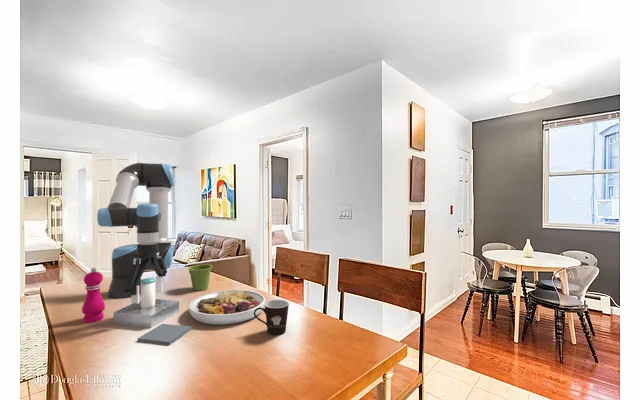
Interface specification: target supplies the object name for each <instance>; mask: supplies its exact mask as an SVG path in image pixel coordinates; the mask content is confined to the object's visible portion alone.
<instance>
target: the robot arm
mask: <svg viewBox="0 0 640 400" xmlns="http://www.w3.org/2000/svg"><path fill="white" fill-rule="evenodd" d="M173 174H174V173H173V168H172V166H171V164H169V163H168V164H167V163H166V164H165V163H148V162H147V163H144V162H143V163H142V162H138V163H137V162H135V163H132V164H130V165H127V166H125V167H124V168H122V169H121V170H120V171H119V172H118V174H117V175H116V178H115V183H116V184H115V187H114V190H113V192H112V194H111V198H110V200H109V202H108V205H107V207H102V208H99V209H98V210H97V215H96V216H97V217H96V219H97V220H96V221H97V224H98V226H100V227H101V228H102V227H103V228H104V227H109V228H114V227H115V228H116V227H117V228H118V227H136V242H137V243H134V244H127V245H121V246H118V247H115V248H114V249H113V250H112V254H111V281H110V284H109V288H108V289H107V297H108V298H112V299H120V298H121V299H123V298H131V299H130V300H131V304H133V303H136V304H138V303H139V301H140V295H141V280H142V276H143V274H144V272H145V271H154V273H155V274H156V275H157V276H155V293H158V294H163V293H164V277H166V276H167V273H168V269H170V268H171V267H172V264H173V263H172V262H173V256H174V250H175V247H174V246H175V245H173V244H172V241H170V239H168V236H169V234H168V232H169V231H168V229H169V227H168V226H169V221H168V219H169V218H168V217H169V213H168V212H169V210H168V209H169V193H170V192H171V191H172V187H175V180H174V175H173ZM137 187H145V190H146V191H147V192H148V194H149V195H148V196H149V198H148V201H149V203H139V204H137V206H136V207H130V205H131V204H132V203H131V202H132V200H133V197H134V192H135V189H136V188H137Z"/></svg>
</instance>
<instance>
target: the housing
mask: <svg viewBox="0 0 640 400" xmlns="http://www.w3.org/2000/svg"><path fill="white" fill-rule="evenodd" d="M179 312H180V301H179V300H172V299H171V300H170V299H160V298H159V299H157V298H155V307H153V308H151V309H141V299H139V303H138V304H136V303H131V304H129V305H127V306H125V307H122V308H120V309H118V310H115V311H113V325H118V324H119V326H128V325H129V327H139V328H148V329H153V327H154V328H155V326H158V325H160V323H161V324H162V322H164V321H166V320H167V319H169V318H171V317H172V316H174V315H176V314H178V313H179Z"/></svg>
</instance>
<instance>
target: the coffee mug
mask: <svg viewBox="0 0 640 400" xmlns="http://www.w3.org/2000/svg"><path fill="white" fill-rule="evenodd" d="M289 305H290V302H289V301H287V300H284V299H272V300H268V301H265V305H264V308H261V307H259V308H256V309H255V311H254V316H255V317H254V318H255V319H257V320H258V321H259V322H261V323H262V324H264V325H266V330H267V335H270V336H282V335H284V334H285V333H286V331H287V329H286V328H287V322H288V314H289V313H288V312H289ZM258 309H261V310H262V311H263V312H264V315H265V320H266V321H265V320H263V319H261V318H259V317H258V315H256V314H255V312H256V311H257V310H258Z"/></svg>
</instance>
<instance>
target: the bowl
mask: <svg viewBox="0 0 640 400" xmlns="http://www.w3.org/2000/svg"><path fill="white" fill-rule="evenodd" d="M265 303H266V298H265V296H264V294H261V293H259V292H256V291H253V290H244V289H232V290H231V289H230V290H229V289H226V290H219V291H213V292H209V293H207V294H206V293H205V294H203V295H200V296H198V297H196V298H194V299H193V300H191V302H189V305H188V310H189V314H190V316H191V317H192V318H193V319H195V320H196V321H197V322H200V323H202V324H205V325H214V326H225V325H233V324H239V323H242V322H246V321H249V320H251V319H253V318H256V317H255V316H254V311H255V309H256V308H259V307H261V308H264V309H265ZM262 311H263V310H261V309H258V310H257V311H256V312H255V314H256V316H258V315H259V314H260V313H261V312H262Z"/></svg>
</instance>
